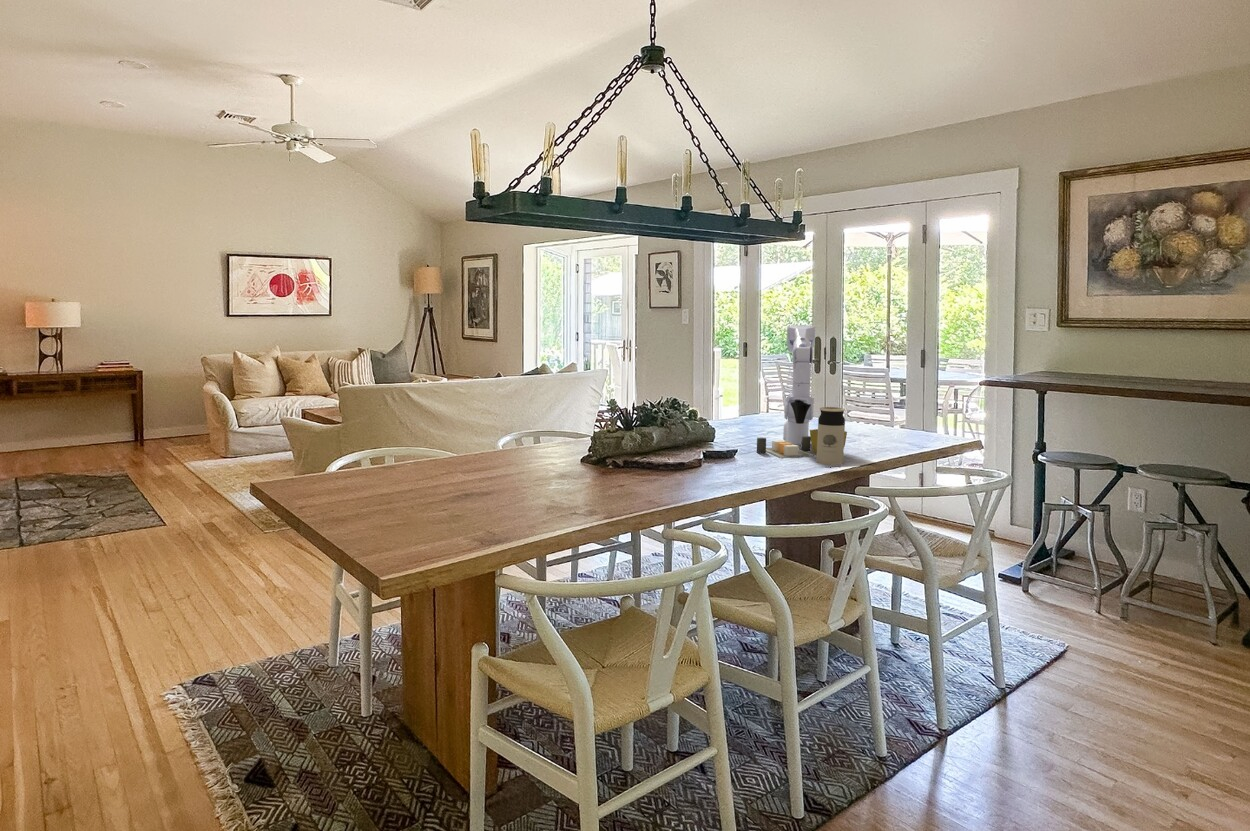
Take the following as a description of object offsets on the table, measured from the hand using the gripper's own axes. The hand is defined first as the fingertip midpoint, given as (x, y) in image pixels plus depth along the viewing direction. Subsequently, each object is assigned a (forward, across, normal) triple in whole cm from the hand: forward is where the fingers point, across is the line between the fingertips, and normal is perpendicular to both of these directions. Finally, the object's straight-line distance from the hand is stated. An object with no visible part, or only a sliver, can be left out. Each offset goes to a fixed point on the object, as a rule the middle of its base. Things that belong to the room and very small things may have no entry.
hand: (799, 423), depth 265 cm
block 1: (+9, -2, -6) cm, 11 cm away
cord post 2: (+10, +2, +2) cm, 10 cm away
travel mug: (+11, +21, 0) cm, 23 cm away
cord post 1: (+10, +2, -14) cm, 18 cm away
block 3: (+9, +7, -6) cm, 13 cm away
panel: (+10, +3, -6) cm, 12 cm away
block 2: (+9, +3, -6) cm, 11 cm away
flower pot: (+10, +8, +6) cm, 15 cm away
